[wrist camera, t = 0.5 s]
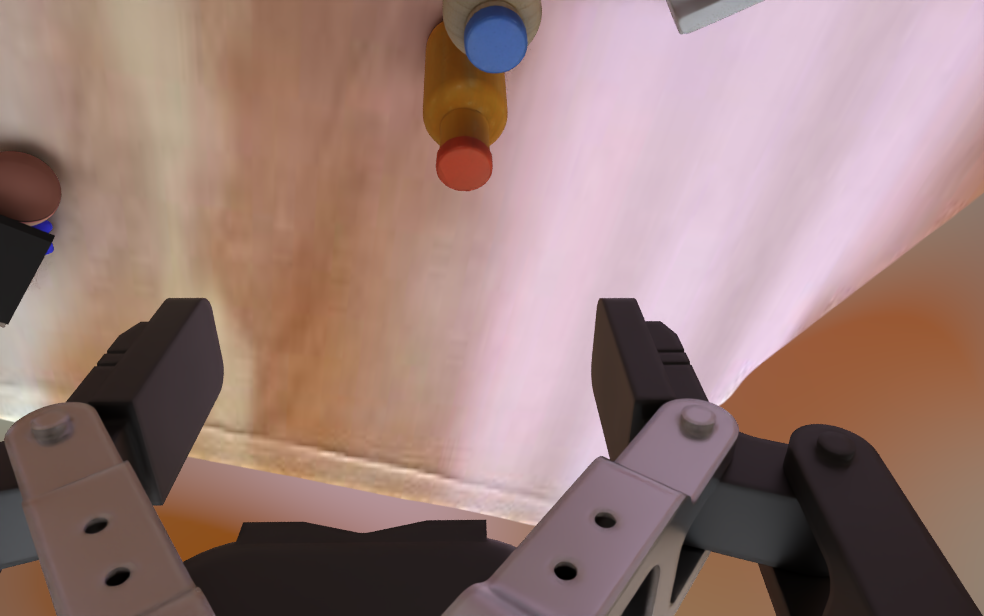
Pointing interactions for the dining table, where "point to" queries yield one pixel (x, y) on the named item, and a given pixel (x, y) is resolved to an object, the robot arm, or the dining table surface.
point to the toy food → (498, 74)
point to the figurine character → (23, 224)
